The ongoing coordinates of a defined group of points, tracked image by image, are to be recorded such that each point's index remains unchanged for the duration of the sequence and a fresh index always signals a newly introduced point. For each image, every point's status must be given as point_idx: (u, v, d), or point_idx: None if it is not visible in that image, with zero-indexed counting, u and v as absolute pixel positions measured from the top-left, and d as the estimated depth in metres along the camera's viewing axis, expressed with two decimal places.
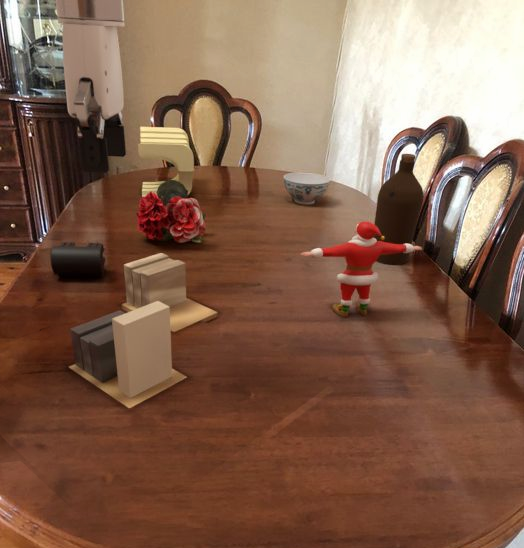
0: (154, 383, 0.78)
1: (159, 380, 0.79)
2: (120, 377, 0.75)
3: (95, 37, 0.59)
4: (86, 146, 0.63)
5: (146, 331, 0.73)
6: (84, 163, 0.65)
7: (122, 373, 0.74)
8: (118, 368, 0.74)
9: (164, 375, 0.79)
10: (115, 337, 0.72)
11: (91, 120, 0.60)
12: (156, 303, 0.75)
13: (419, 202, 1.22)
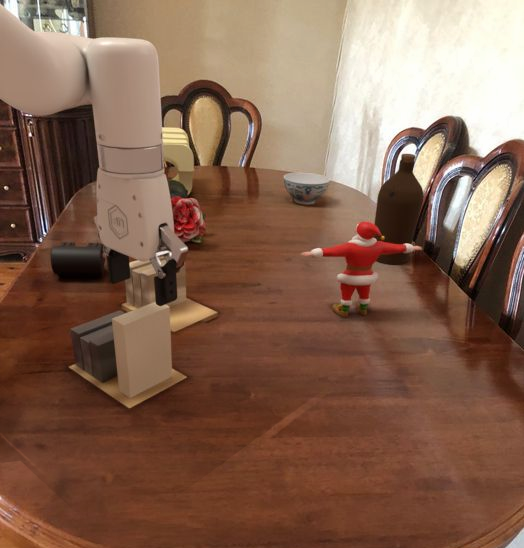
0: (154, 383, 0.78)
1: (159, 380, 0.79)
2: (120, 377, 0.75)
3: (166, 186, 0.62)
4: (167, 283, 0.66)
5: (146, 331, 0.73)
6: (160, 299, 0.67)
7: (122, 373, 0.74)
8: (118, 368, 0.74)
9: (164, 375, 0.79)
10: (115, 337, 0.72)
11: None
12: None
13: (419, 202, 1.22)
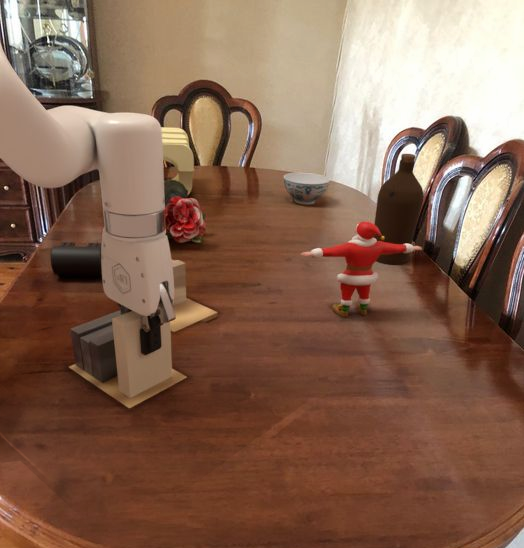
0: (154, 383, 0.78)
1: (159, 380, 0.79)
2: (120, 377, 0.75)
3: (167, 247, 0.66)
4: (151, 335, 0.72)
5: None
6: (145, 349, 0.73)
7: (122, 373, 0.74)
8: (118, 368, 0.74)
9: (164, 375, 0.79)
10: (115, 337, 0.72)
11: None
12: None
13: (419, 202, 1.22)
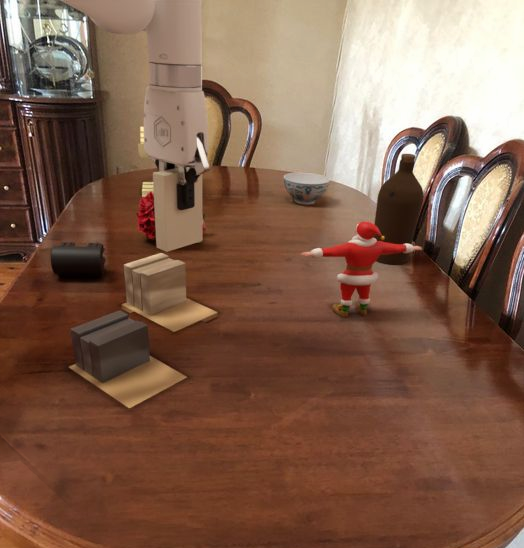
0: (187, 243, 0.87)
1: (191, 241, 0.88)
2: (158, 232, 0.84)
3: (203, 100, 0.75)
4: (187, 190, 0.81)
5: None
6: (181, 204, 0.82)
7: (160, 227, 0.83)
8: (157, 223, 0.83)
9: (195, 237, 0.88)
10: (155, 191, 0.81)
11: None
12: None
13: (419, 202, 1.22)
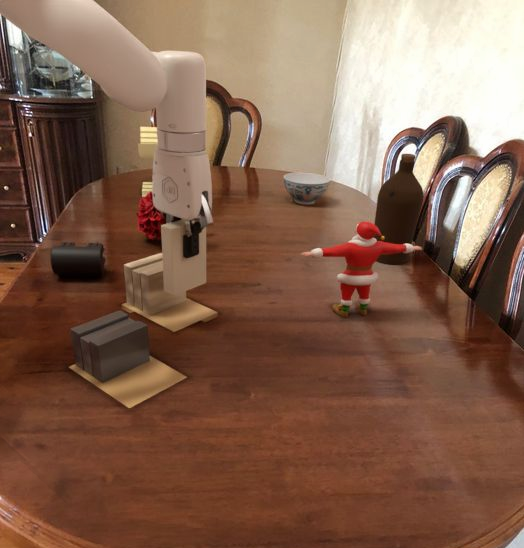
0: (192, 286, 0.94)
1: (196, 284, 0.95)
2: (165, 277, 0.91)
3: (208, 162, 0.82)
4: (192, 240, 0.88)
5: None
6: (187, 253, 0.89)
7: (167, 273, 0.90)
8: (164, 270, 0.90)
9: (200, 281, 0.95)
10: (163, 241, 0.88)
11: None
12: None
13: (419, 202, 1.22)
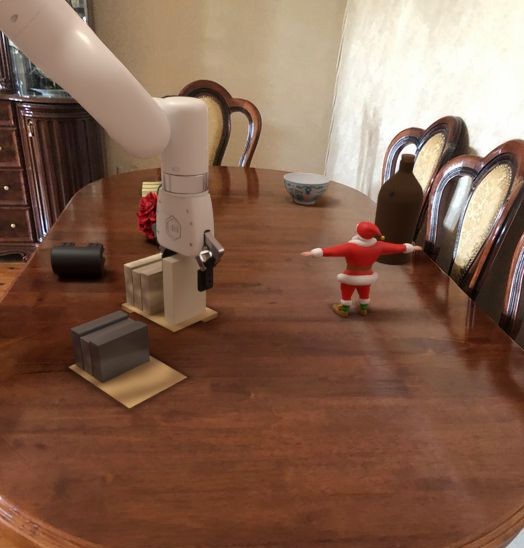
0: (192, 315, 0.97)
1: (196, 313, 0.98)
2: (166, 308, 0.94)
3: (210, 202, 0.84)
4: (206, 275, 0.88)
5: (188, 270, 0.92)
6: (201, 286, 0.89)
7: (168, 304, 0.93)
8: (165, 301, 0.93)
9: (200, 310, 0.98)
10: (164, 274, 0.91)
11: None
12: None
13: (419, 202, 1.22)
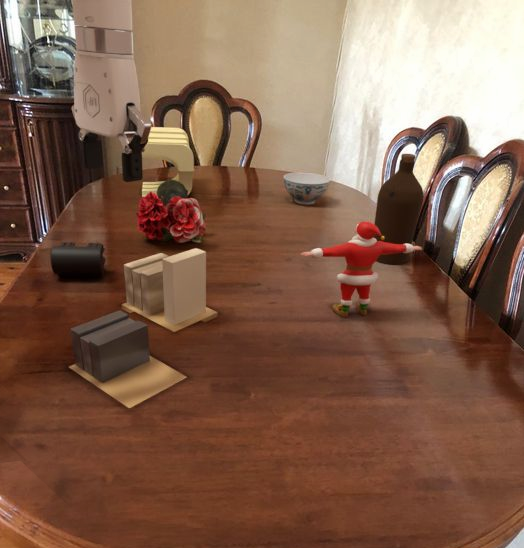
0: (192, 315, 0.97)
1: (196, 313, 0.98)
2: (166, 308, 0.94)
3: (134, 69, 0.71)
4: (132, 160, 0.75)
5: (188, 270, 0.92)
6: (126, 175, 0.76)
7: (168, 304, 0.93)
8: (165, 301, 0.93)
9: (200, 310, 0.98)
10: (164, 274, 0.91)
11: (147, 137, 0.74)
12: (195, 249, 0.94)
13: (419, 202, 1.22)
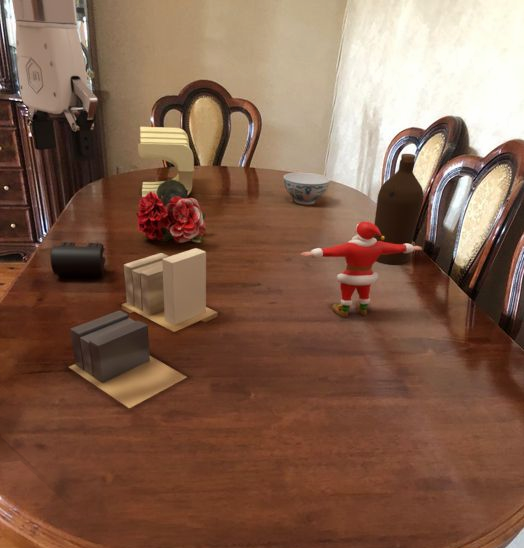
0: (192, 315, 0.97)
1: (196, 313, 0.98)
2: (166, 308, 0.94)
3: (77, 39, 0.67)
4: (81, 138, 0.71)
5: (188, 270, 0.92)
6: (76, 154, 0.72)
7: (168, 304, 0.93)
8: (165, 301, 0.93)
9: (200, 310, 0.98)
10: (164, 274, 0.91)
11: (95, 113, 0.69)
12: (195, 249, 0.94)
13: (419, 202, 1.22)
